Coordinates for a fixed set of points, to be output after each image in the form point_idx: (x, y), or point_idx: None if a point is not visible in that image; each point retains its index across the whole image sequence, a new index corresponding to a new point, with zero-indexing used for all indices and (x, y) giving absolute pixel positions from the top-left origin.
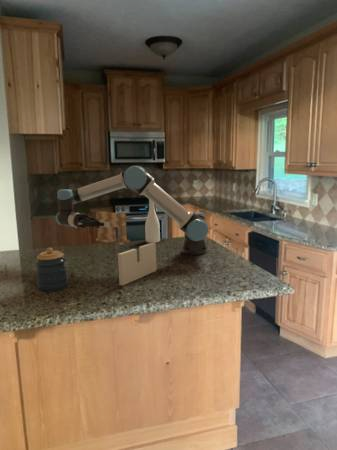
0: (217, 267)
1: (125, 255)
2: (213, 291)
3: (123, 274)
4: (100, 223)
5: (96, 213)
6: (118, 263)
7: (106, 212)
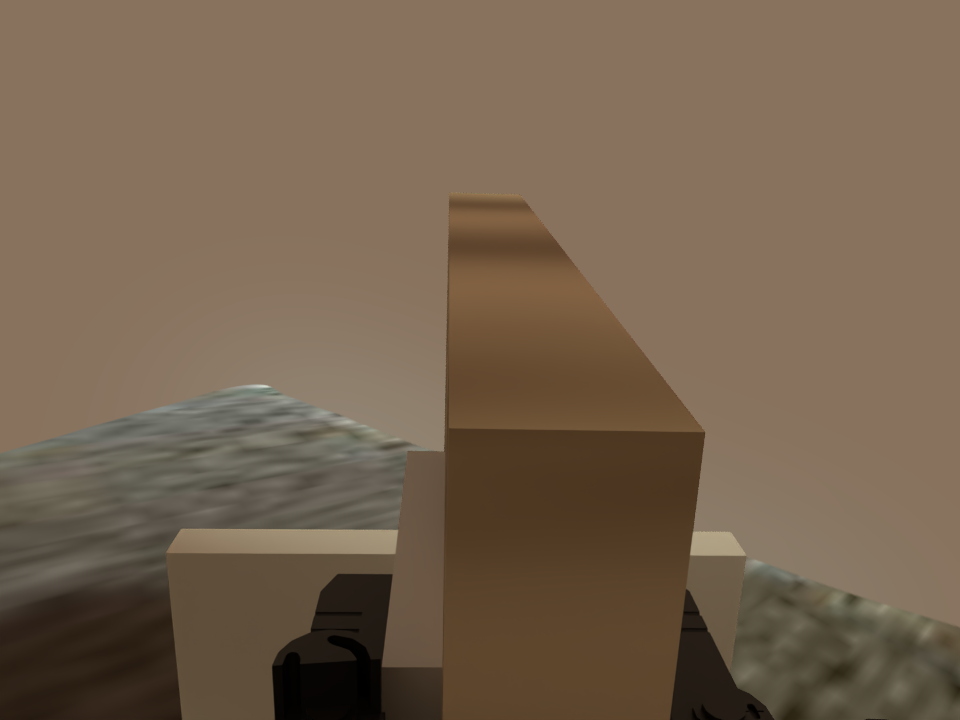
0: (21, 543)
1: None
2: None
3: None
4: (699, 629)
5: (689, 514)
6: (733, 642)
7: (534, 270)
